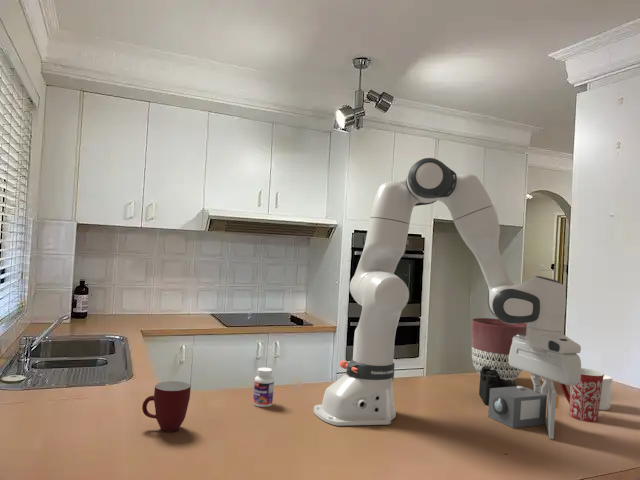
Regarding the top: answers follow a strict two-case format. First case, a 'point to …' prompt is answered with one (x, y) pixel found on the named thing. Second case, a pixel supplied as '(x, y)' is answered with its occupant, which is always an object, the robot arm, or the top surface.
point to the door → (551, 409)
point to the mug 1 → (169, 404)
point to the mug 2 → (585, 395)
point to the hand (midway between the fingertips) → (540, 393)
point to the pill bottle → (263, 388)
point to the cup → (605, 393)
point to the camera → (491, 383)
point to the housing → (517, 406)
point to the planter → (494, 345)
